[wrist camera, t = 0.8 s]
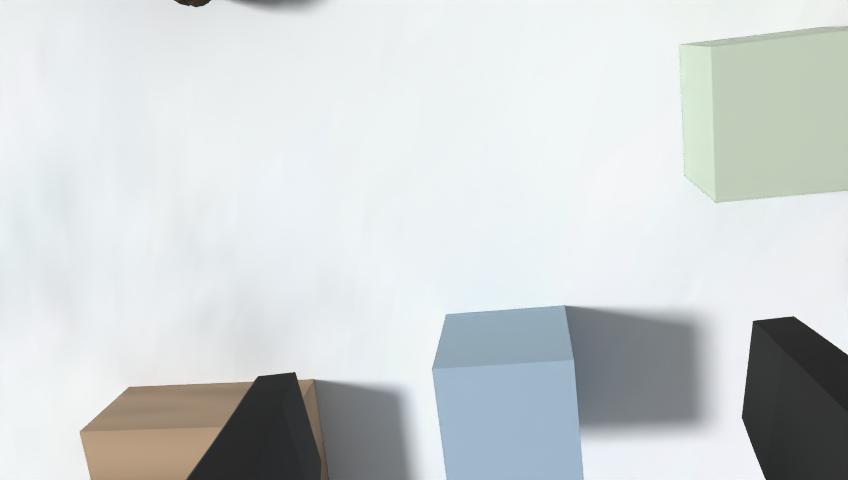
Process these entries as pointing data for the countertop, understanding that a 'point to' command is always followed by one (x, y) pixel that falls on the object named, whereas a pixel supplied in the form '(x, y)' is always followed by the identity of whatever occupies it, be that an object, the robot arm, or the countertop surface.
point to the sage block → (766, 114)
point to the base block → (170, 429)
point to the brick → (193, 2)
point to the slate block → (508, 396)
